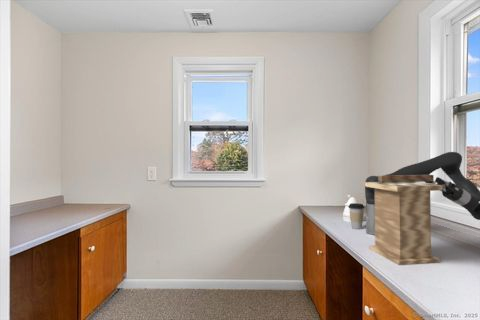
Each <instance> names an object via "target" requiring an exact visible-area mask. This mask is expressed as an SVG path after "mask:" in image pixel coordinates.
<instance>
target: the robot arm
mask: <svg viewBox="0 0 480 320" xmlns="http://www.w3.org/2000/svg"><path fill="white" fill-rule="evenodd" d="M462 161H463V156H462V155H461V154H460V152H456V151H449V152H448V151H447V152H445V153H442V154H440V155H438V156H437V155H436V156H435V157H433V158H430V159H426V160H423V161H420V162H417V163H414V164H413V163H412V164H410V165H405V166H404V167H401V168H398V169H397V170H395V171H394V172H391V173H388V174H384V175H383V174H382V176H391V175H432V174H433V172H435V171H437V170H439V169H441V170H442V172H444V174H445V175H446V176H447V177H449V179H450V180H451V181H452V182H451V181H448V180H444V179H442V178H441V177H439V176H437V177H436V178H435V179H434V181H429V182H425V183H430V184H436V185H442V190H438V191H440V192H441V194H442V196H443V197H444V198H446V199H448V200H449V201H451V202H453V204H454V203H455V205H456V204H457V205H459V206H460V207H462V208H464V209H465V210H466V211H467V212H468V213H469V214H470V215H471V216H472V217H473V219H475V220H478V221H480V189H479V188H478V187H477V185H476V183H474V182H473V181H471V180H470V179H468V178H467V177H465V176H464V175H463V173H462V170H461V169H460V168H461V165H462ZM378 176H379V175H370V176H368V177H367V178H366V179H365V181H364V183H365V182H378ZM364 195H365V196H364V197H365V200H366V201H365V202H366V216H365V234H369V235H372V236H373V235H374V236H375V190H374V188H372V187H366V186H365V185H364Z"/></svg>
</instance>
